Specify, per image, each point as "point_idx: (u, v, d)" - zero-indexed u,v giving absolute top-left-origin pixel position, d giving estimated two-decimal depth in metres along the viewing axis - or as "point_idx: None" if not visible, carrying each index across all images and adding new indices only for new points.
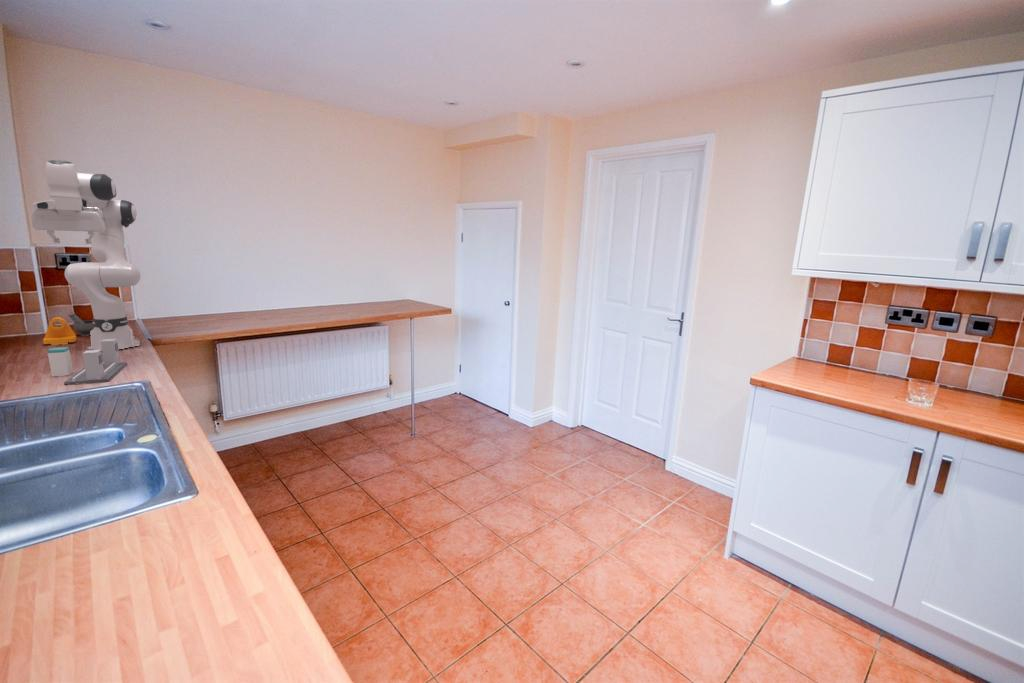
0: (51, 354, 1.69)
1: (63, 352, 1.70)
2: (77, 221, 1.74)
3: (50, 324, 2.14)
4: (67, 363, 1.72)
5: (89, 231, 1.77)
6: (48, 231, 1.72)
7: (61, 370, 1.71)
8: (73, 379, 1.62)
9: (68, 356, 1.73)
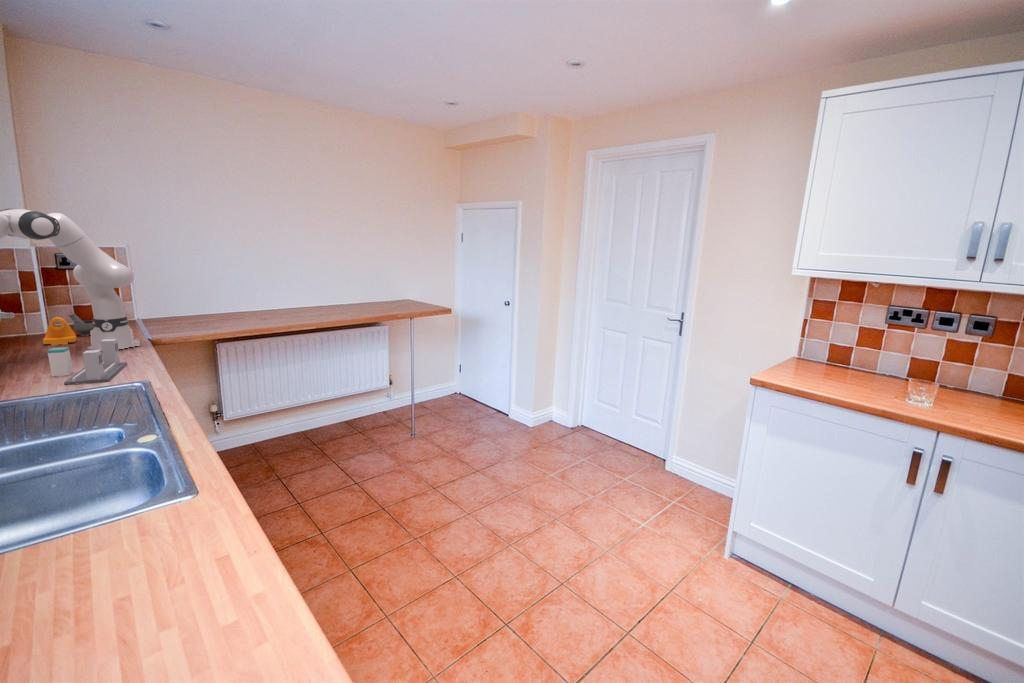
0: (51, 354, 1.68)
1: (63, 352, 1.70)
2: None
3: (50, 324, 2.14)
4: (67, 363, 1.72)
5: None
6: None
7: (61, 370, 1.71)
8: (73, 379, 1.62)
9: (68, 356, 1.73)
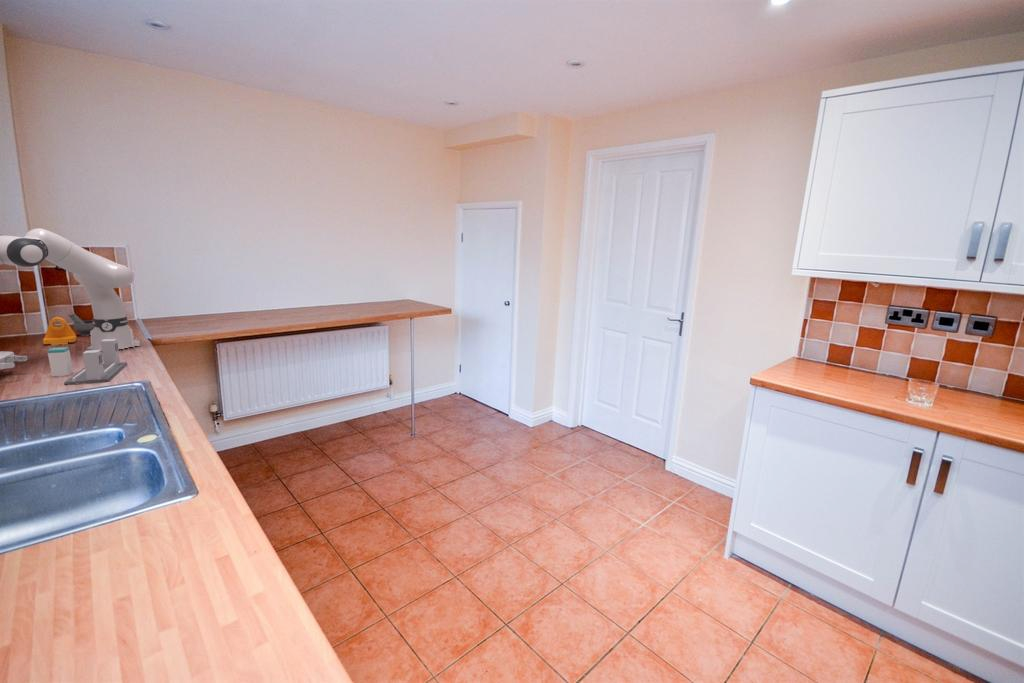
0: (51, 354, 1.68)
1: (63, 352, 1.70)
2: None
3: (50, 324, 2.14)
4: (67, 363, 1.72)
5: None
6: None
7: (61, 370, 1.71)
8: (73, 379, 1.62)
9: (68, 356, 1.73)
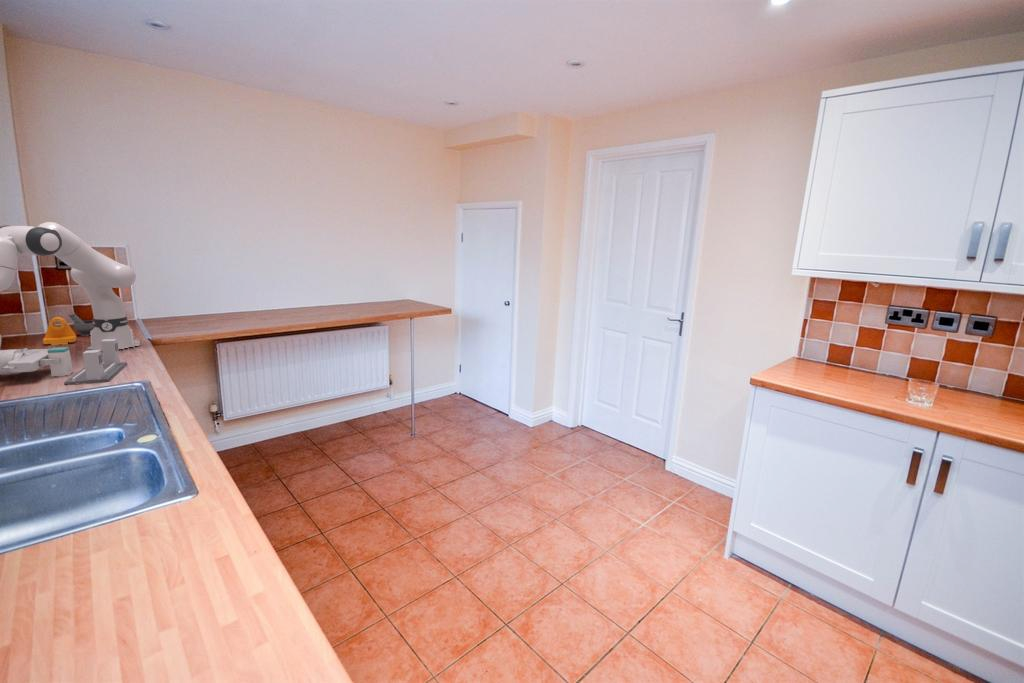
0: (51, 354, 1.68)
1: (63, 352, 1.70)
2: None
3: (50, 324, 2.14)
4: (67, 363, 1.72)
5: (40, 367, 1.65)
6: None
7: (61, 370, 1.71)
8: (73, 379, 1.62)
9: (68, 356, 1.73)
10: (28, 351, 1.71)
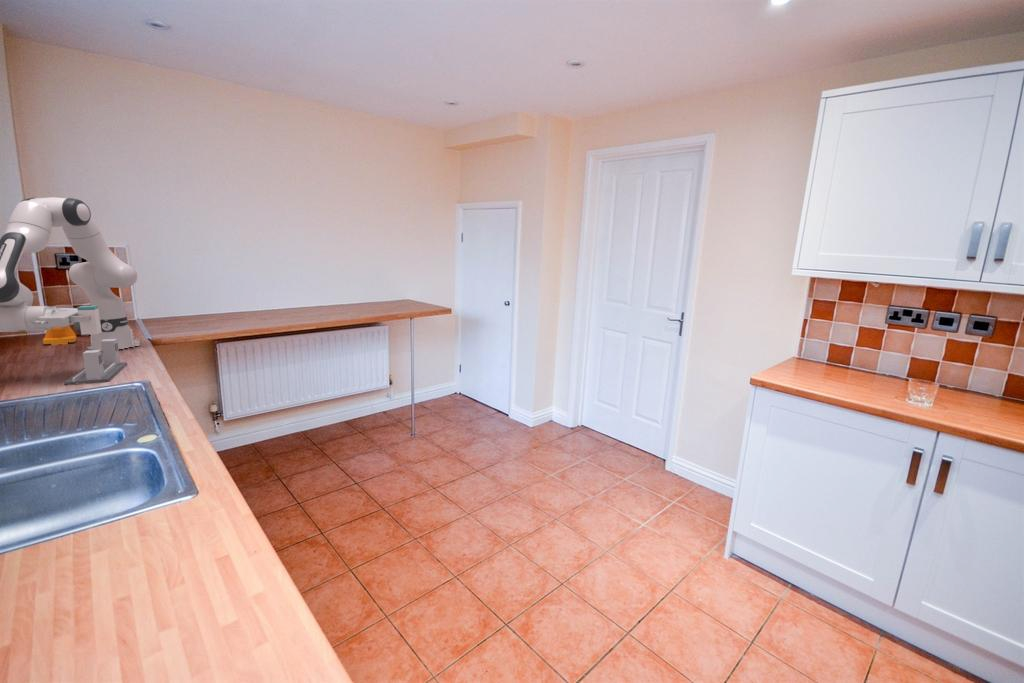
0: (81, 311, 1.68)
1: (93, 310, 1.69)
2: None
3: None
4: (96, 321, 1.71)
5: (70, 324, 1.64)
6: None
7: (90, 328, 1.70)
8: (73, 379, 1.62)
9: (97, 314, 1.72)
10: (57, 309, 1.70)
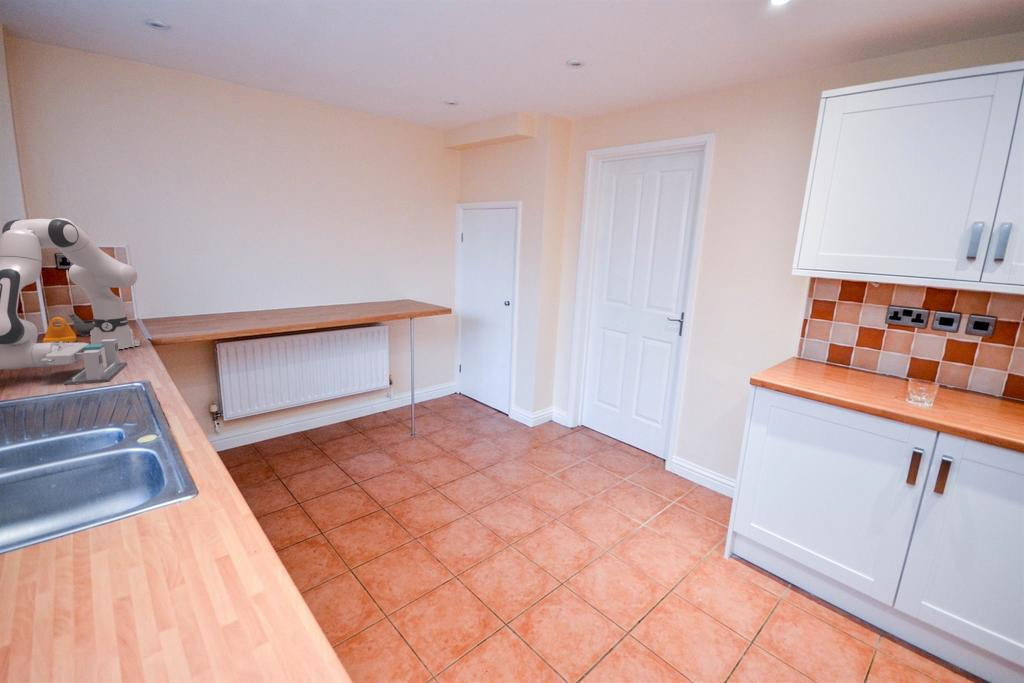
0: None
1: (99, 349, 1.72)
2: None
3: (50, 324, 2.14)
4: None
5: (76, 360, 1.67)
6: None
7: None
8: (73, 379, 1.62)
9: (103, 353, 1.75)
10: (63, 344, 1.73)
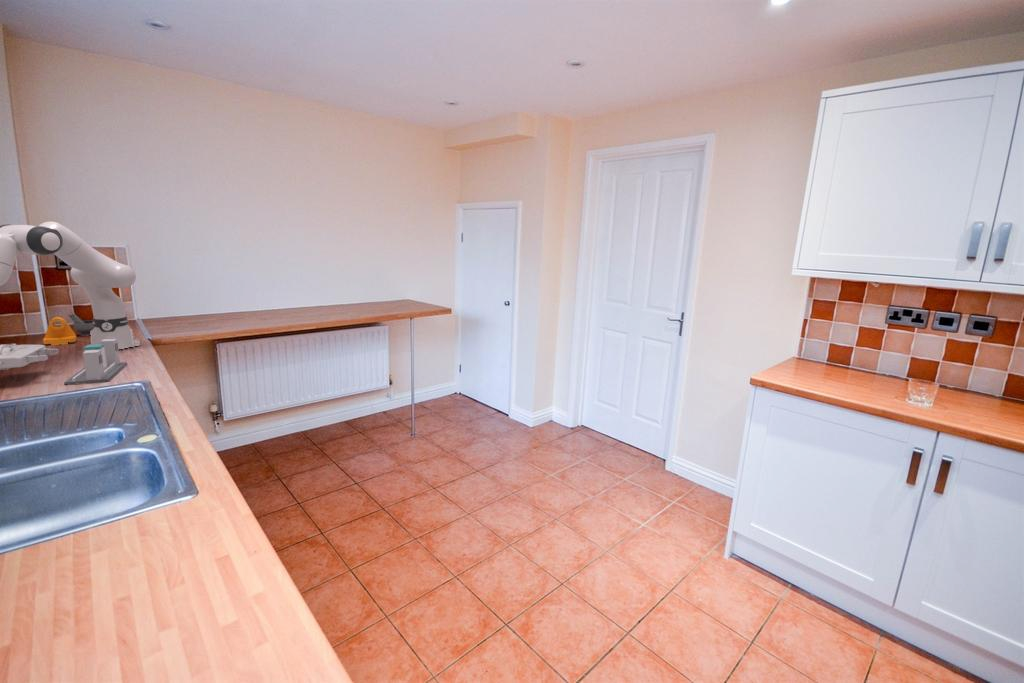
0: None
1: (99, 349, 1.72)
2: None
3: (50, 324, 2.14)
4: None
5: (28, 363, 1.61)
6: None
7: None
8: (73, 379, 1.62)
9: (103, 353, 1.75)
10: (17, 346, 1.67)
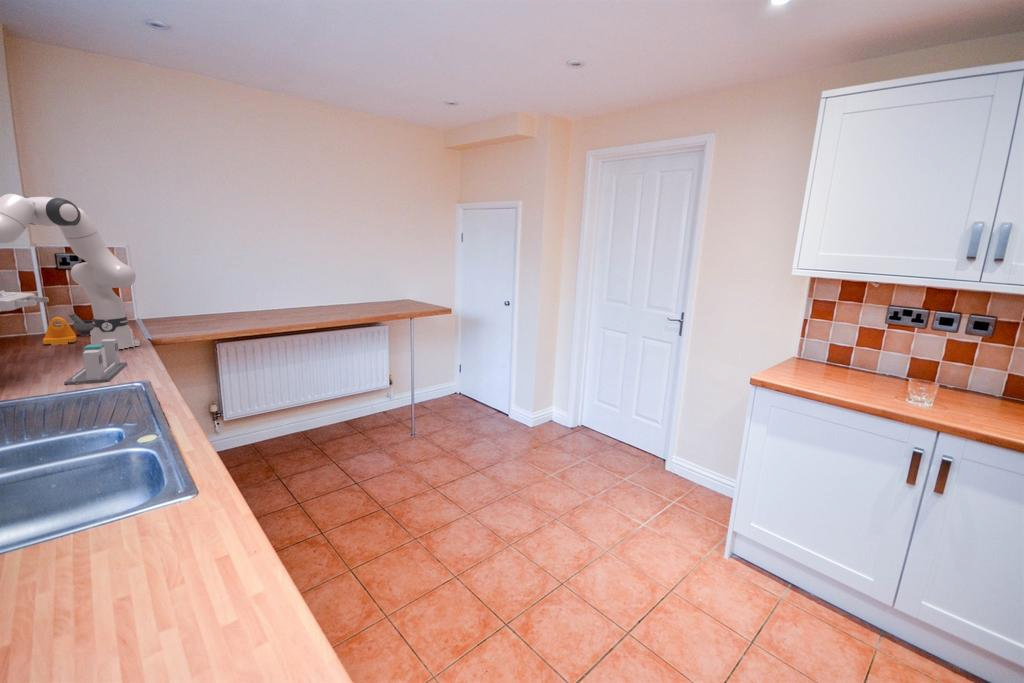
0: None
1: (99, 349, 1.72)
2: None
3: (50, 324, 2.14)
4: None
5: (17, 308, 1.57)
6: None
7: None
8: (73, 379, 1.62)
9: (103, 353, 1.75)
10: (5, 293, 1.63)
